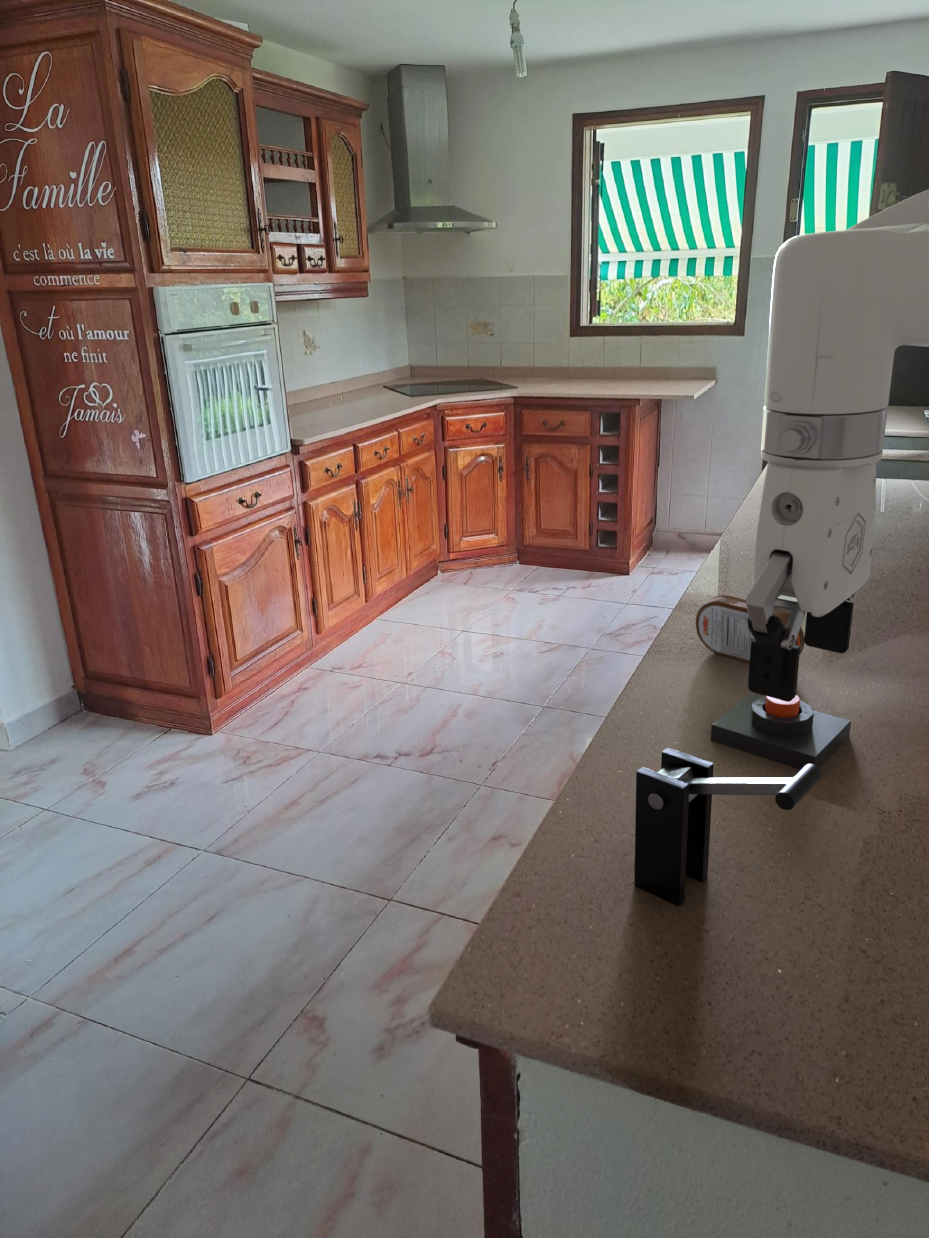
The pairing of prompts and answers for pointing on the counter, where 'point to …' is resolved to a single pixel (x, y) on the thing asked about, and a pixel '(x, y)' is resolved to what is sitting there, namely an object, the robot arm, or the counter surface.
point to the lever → (751, 785)
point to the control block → (781, 733)
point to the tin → (731, 627)
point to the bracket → (671, 828)
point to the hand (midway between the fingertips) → (799, 670)
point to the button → (782, 707)
